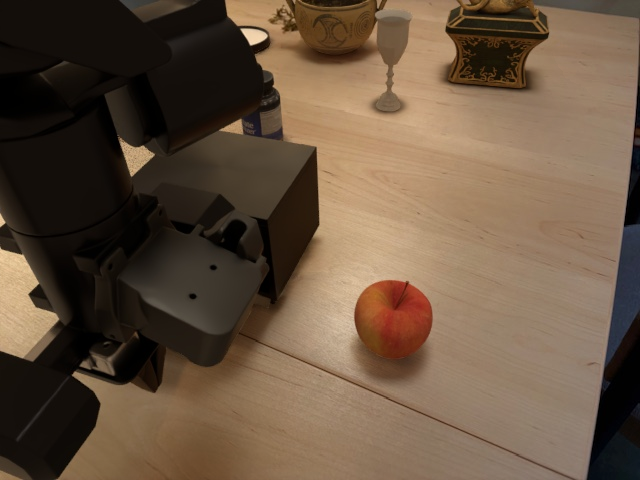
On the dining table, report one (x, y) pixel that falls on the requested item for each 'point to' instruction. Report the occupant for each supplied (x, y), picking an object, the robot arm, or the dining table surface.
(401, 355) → the apple
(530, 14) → the decorative box
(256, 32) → the magnifying glass
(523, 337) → the dining table surface
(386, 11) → the chalice
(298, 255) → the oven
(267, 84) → the pill bottle
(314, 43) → the ceramic bowl
